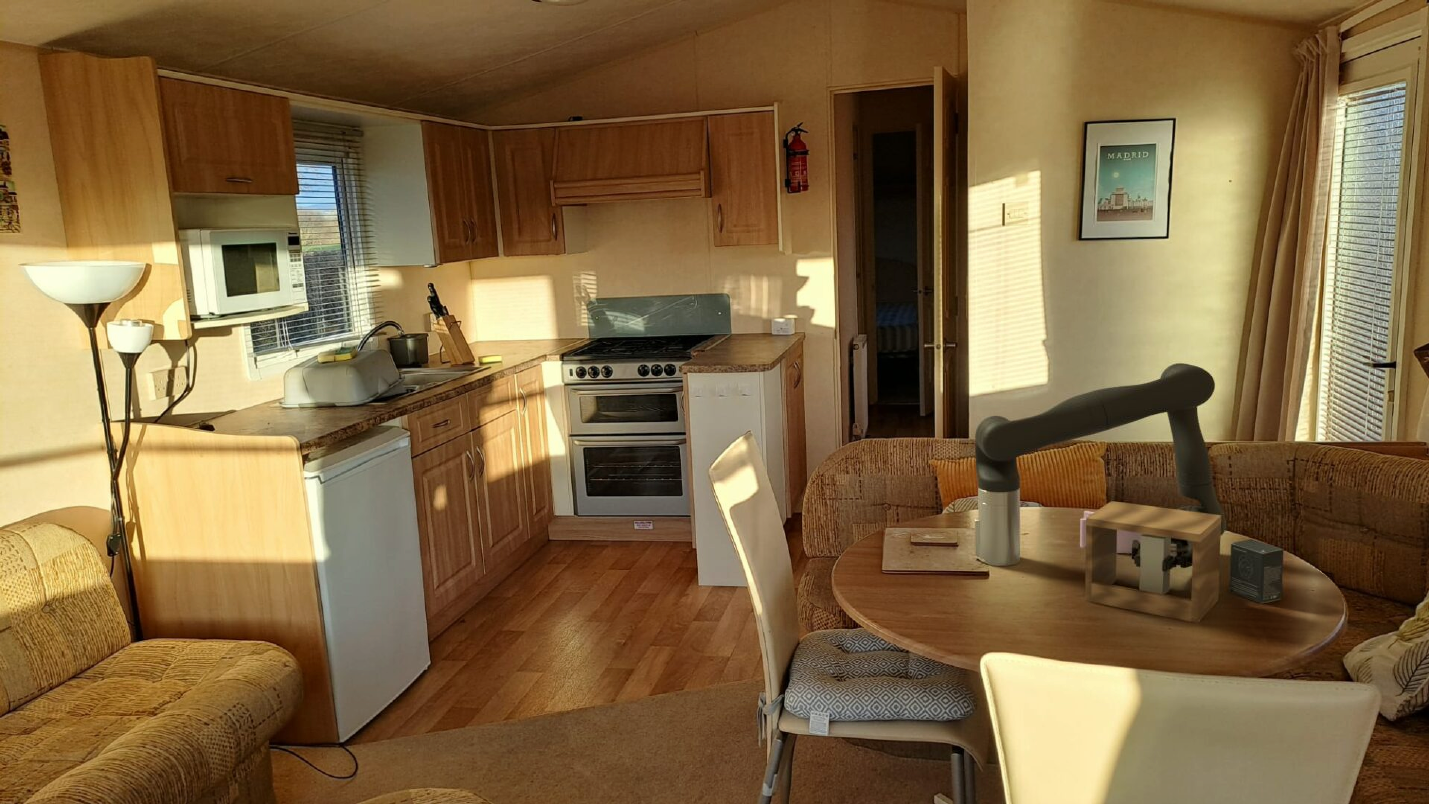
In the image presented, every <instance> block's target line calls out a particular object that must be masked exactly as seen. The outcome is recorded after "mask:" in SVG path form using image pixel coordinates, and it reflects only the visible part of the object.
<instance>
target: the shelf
mask: <svg viewBox="0 0 1429 804" xmlns="http://www.w3.org/2000/svg"><path fill="white" fill-rule="evenodd" d="M1093 512H1094V513H1093V514H1091V515H1090V516H1088V517H1087V518H1086V548H1085V590H1084V591H1085V594H1084V595H1085V598H1084V599H1085V600H1084V601H1085V602H1089V603H1094V604H1100V605H1104V606H1110V607H1114V608H1120V609H1126V610H1131V611H1135V612H1141V613H1145V614H1150V615H1156V616H1160V617H1164V618H1165V617H1167V618H1170V619H1171V618H1172V619H1176V620H1181V621H1184V622H1185V621H1187V622H1192V623H1197V624H1198V623H1199V622H1200V621H1201V620H1202V619H1203V617H1205V615H1206V614H1207V613H1208V612H1209V611H1210V610H1211V609H1212V607H1214V605H1215V604H1216V603H1217V602H1218V601H1219V599H1220V598H1219V596H1220V595H1219V593H1220V592H1219V589H1220V565H1221V564H1220V562H1221V561H1220V559H1221V537H1222V536H1221V515H1214V514H1206V513H1199V512H1191V511H1183V510H1177V509H1175V508H1166V507H1159V506H1154V505H1153V506H1152V505H1145V504H1137V503H1129V502H1123V501H1122V502H1120V501H1114V500H1111V501H1110V502H1108V503H1106V504H1105V505H1104V506H1102V507H1101V508H1099V509H1097V510H1096V511H1093ZM1117 530H1122V531H1129V532H1135V533H1142V534H1149V535H1155V536H1162V537H1169V538H1176V539H1182V540H1189V541H1193V563H1192V566H1191V567H1192V568H1191V569H1192V571H1191V598H1185V597H1180V596H1175V595H1169V594H1159V593H1154V592H1148V591H1143V590H1139V589H1137V588H1131V587H1126V586H1121V585H1117V584H1116V585H1115V583H1116V582H1117V557H1118V555H1117ZM1217 600H1218V601H1217ZM1201 618H1202V619H1201ZM1199 620H1200V621H1199Z"/></svg>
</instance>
